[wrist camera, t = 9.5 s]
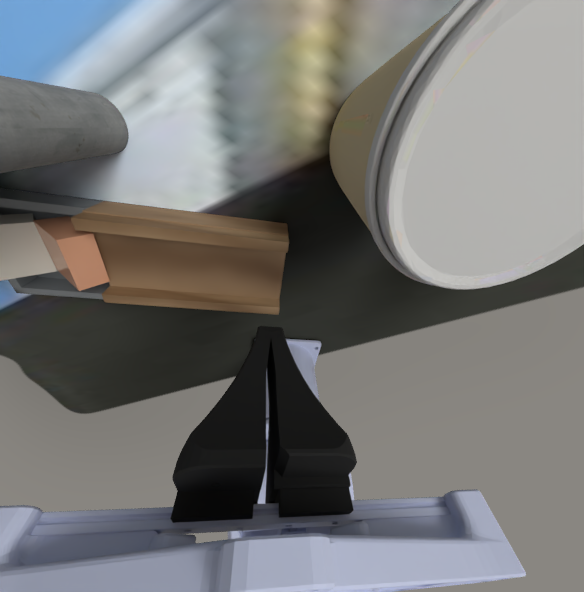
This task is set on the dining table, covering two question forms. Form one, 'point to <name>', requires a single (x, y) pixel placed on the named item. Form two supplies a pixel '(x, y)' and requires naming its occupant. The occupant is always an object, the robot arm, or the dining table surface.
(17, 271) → the tile
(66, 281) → the tray
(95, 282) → the tile
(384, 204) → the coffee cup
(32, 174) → the dining table surface
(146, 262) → the board
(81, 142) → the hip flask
